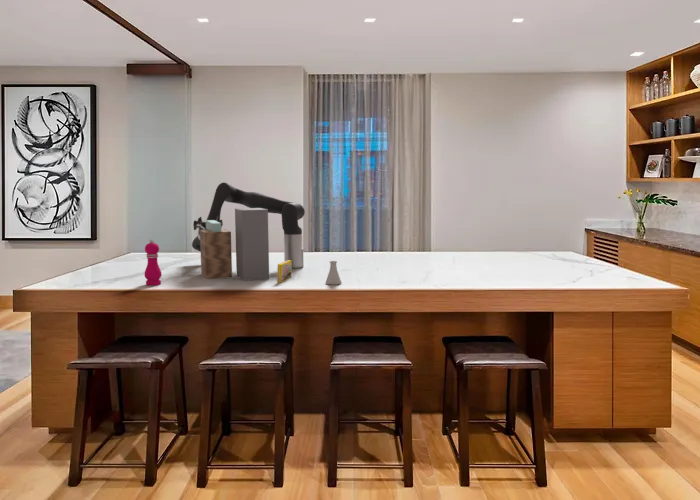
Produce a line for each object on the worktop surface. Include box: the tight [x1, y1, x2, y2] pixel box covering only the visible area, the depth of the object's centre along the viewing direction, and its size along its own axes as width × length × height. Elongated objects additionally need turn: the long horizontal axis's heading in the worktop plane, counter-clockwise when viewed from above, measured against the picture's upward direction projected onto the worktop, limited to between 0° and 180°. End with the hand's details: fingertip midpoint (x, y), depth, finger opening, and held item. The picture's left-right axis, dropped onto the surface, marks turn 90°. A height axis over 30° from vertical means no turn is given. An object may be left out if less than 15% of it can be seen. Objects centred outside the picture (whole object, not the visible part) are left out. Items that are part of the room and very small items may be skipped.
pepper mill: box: [144, 239, 163, 287], centre depth 287 cm, size 7×7×20 cm
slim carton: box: [205, 219, 222, 232], centre depth 314 cm, size 4×22×4 cm, turn 20°
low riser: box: [200, 228, 233, 280], centre depth 311 cm, size 12×16×22 cm
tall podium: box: [234, 207, 270, 281], centre depth 305 cm, size 12×16×32 cm
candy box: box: [276, 260, 292, 284], centre depth 299 cm, size 16×2×8 cm, turn 168°
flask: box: [325, 260, 342, 286], centre depth 287 cm, size 7×7×10 cm
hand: (209, 218), depth 324 cm, fingers open, 8 cm apart
